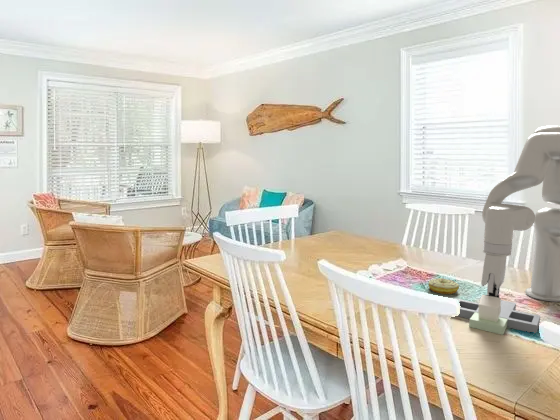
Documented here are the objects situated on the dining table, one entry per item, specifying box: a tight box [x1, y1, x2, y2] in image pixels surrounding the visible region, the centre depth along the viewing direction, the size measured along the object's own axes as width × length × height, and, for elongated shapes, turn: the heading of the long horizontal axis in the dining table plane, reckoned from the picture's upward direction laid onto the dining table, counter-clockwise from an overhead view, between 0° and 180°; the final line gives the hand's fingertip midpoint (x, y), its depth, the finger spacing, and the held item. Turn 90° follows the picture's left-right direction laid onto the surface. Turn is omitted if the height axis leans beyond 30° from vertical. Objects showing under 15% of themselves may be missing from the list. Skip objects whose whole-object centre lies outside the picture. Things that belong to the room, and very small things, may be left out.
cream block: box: [478, 294, 502, 322], centre depth 127 cm, size 5×5×5 cm
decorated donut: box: [428, 277, 460, 295], centre depth 159 cm, size 10×11×4 cm
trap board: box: [456, 298, 541, 336], centre depth 134 cm, size 23×24×2 cm
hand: (491, 307), depth 131 cm, fingers closed
